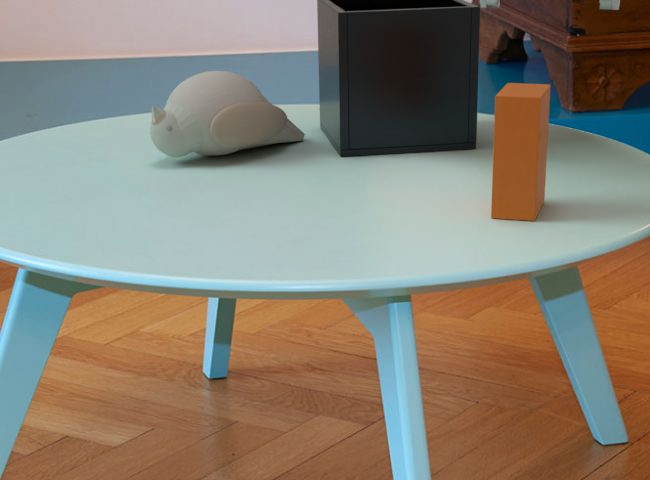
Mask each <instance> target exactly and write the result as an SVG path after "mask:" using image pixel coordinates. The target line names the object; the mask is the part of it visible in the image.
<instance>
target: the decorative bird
mask: <svg viewBox="0 0 650 480" xmlns="http://www.w3.org/2000/svg"><path fill="white" fill-rule="evenodd" d="M149 135H150V139H151V141H152V143H153V145H154V146H155V148H156V149H157V150H158V151H159V152H161V153H162V154H163V155H166V156H168V157H172V158H182V157H184V156H187V155H188V154H191V153H195V154H199V155H202V156H209V157H210V156H212V157H213V156H225V155H229V154H232V153H235V152H238V151H241V150H247V149H252V148H253V149H254V148H258V147H263V146H269V145H270V146H271V145H275V144H281V143H293V142H302V141H304V138H305V135H306V134H305V133H304V132H303V131H302V130H301V129H300V128H299V127H298V126H297V125H296V124H295V123H293V122H292V121H291V119H289V118H288V115H287V113H286V112H285V111H284V110H283V109H282V108H281V107H279V106H277V105H275V104H273V103H272V102H271V101H269V100H268V99H267V98H266V97H265V96H264V95H263V93H262V91H261V90H260V88H258V86H257V85H255V83H253V82H252V81H251V80H249V79H248V78H247V77H244V76H242V75H240V74H238V73H235V72H231V71H227V70H209V71H203V72H200V73H197V74H194V75H192V76H189V77H188V78H186V79H185V80H183V81H182V82H180V83H179V84H178V85H177V86H176V87H175V88H174V89H173V90H172V92H171V93H170V95H169V97H168V98H167V101H166V103H165V106H164V107H163V109H162V108H159V107H158V106H156V105H151V122H150V125H149Z"/></svg>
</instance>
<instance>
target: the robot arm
mask: <svg viewBox="0 0 650 480" xmlns="http://www.w3.org/2000/svg"><path fill="white" fill-rule="evenodd" d="M500 1H501V0H479V5H480V6H479V7H480V9H499V8H500V5H501V2H500ZM598 2H599V10H600V11H601V10H604V11H619V10H620V4H621V0H599V1H598Z"/></svg>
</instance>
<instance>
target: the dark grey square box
mask: <svg viewBox="0 0 650 480" xmlns="http://www.w3.org/2000/svg"><path fill="white" fill-rule="evenodd" d="M316 9H317V13H316V14H317V48H318V49H317V50H318V51H317V52H318V55H317V56H318V57H317V58H318V94H319V95H318V96H319V128H320V129H321V131H322V132H323V134H324V135H325V136H326V137H327V140H329V142H330V143H331V145H332V147H333V148H334V149H335V151H336V152H337V153H338V155H339V156H340V157H342V158H343V157H359V156H361V157H362V156H375V155H376V156H377V155H378V156H379V155H390V154H391V155H393V154H396V155H397V154H410V153H411V154H412V153H428V152H446V151H463V150H476V149H477V139H478V138H477V137H478V136H477V135H478V133H477V132H478V105H479V104H478V103H479V102H478V99H479V70H480V69H479V68H480V67H479V65H480V35H481V33H480V29H481V7H480V6H478V5H476V4H474V3H472V2H469V1H466V0H316Z"/></svg>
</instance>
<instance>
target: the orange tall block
mask: <svg viewBox="0 0 650 480" xmlns="http://www.w3.org/2000/svg"><path fill="white" fill-rule="evenodd" d="M550 102H551V83H550V84H549V83H523V82H522V83H521V82H507V83H506V84H505V85H504V86H503V87H502V89H500V90H499V92H498V93H497V94H496V95H495V96H494V120H493V121H494V122H493V148H492V149H493V150H492V151H493V153H492V155H493V156H492V175H491V177H492V178H491V181H492V183H491V185H492V186H491V209H490V210H491V211H490V218H491V219H499V220H511V221H513V220H514V221H526V222H528V221H529V222H536V221H535V220H536V219H537V217H538V215H539V213H540V212H541V209H542V207H543V205H544V203H545V199H546V198H545V196H546V179H547V178H546V176H547V160H548V159H547V158H548V142H549V141H548V140H549V124H550V123H549V119H550V106H551V105H550V104H551V103H550Z"/></svg>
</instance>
